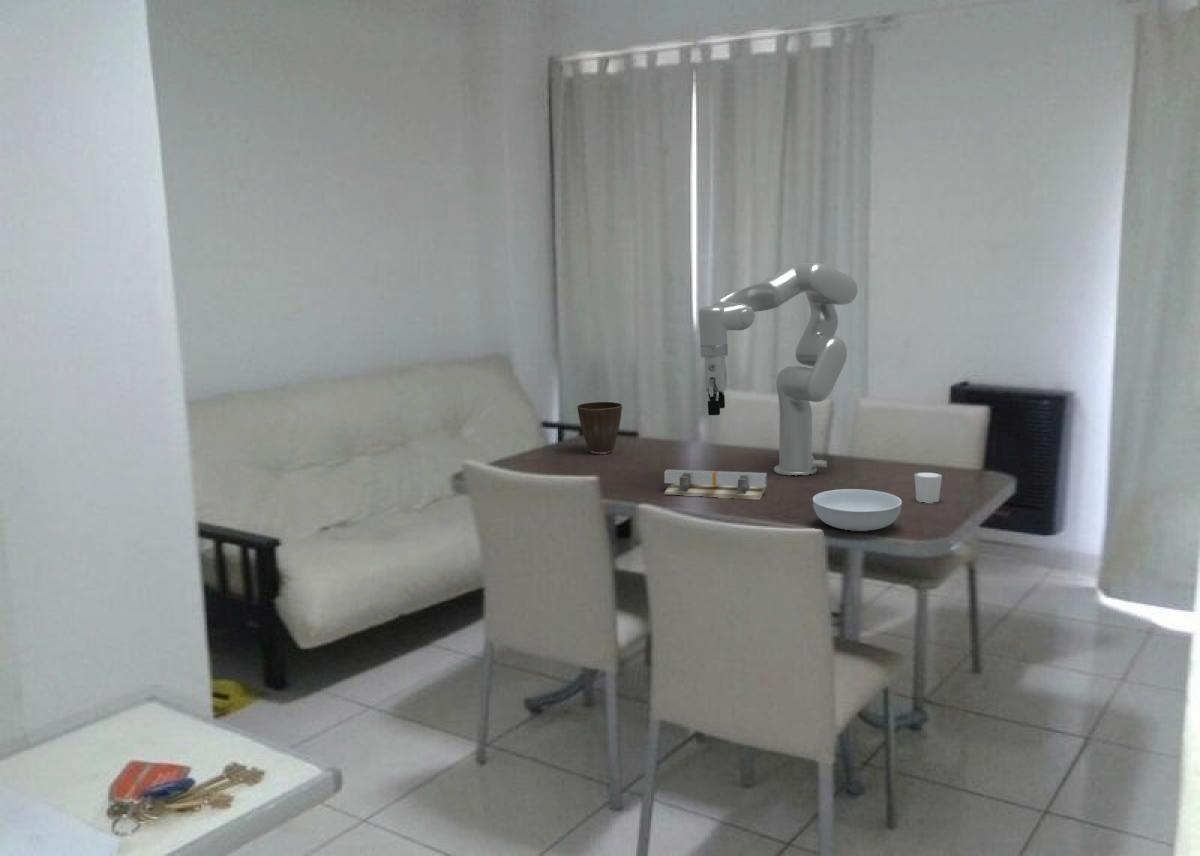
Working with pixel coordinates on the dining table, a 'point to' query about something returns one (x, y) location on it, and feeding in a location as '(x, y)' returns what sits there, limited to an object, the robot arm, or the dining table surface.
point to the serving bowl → (857, 509)
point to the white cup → (927, 487)
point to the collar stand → (716, 490)
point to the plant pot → (600, 424)
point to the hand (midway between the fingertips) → (716, 411)
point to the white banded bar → (716, 477)
